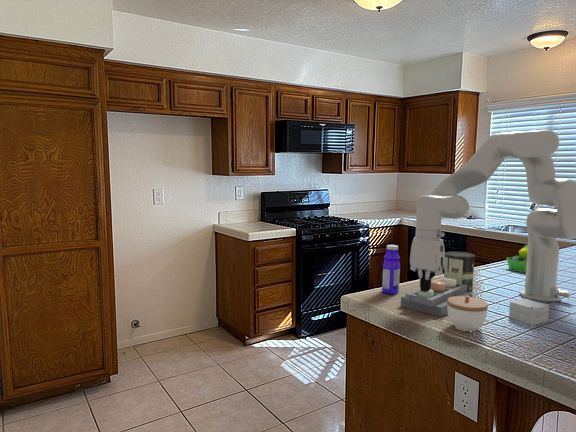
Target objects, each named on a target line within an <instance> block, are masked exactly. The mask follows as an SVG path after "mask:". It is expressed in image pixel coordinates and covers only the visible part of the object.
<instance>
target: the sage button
mask: <svg viewBox="0 0 576 432" xmlns="http://www.w3.org/2000/svg"><path fill="white" fill-rule="evenodd" d="M417 289H418V290H417ZM417 289H416V290H417V295H420V296H424V297H429V298H431V297H433V296H434V291H433V290H431V289H430V290H429V291H427V292H424V291H420V288H417Z"/></svg>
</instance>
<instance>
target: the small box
mask: <svg viewBox="0 0 576 432" xmlns="http://www.w3.org/2000/svg"><path fill="white" fill-rule="evenodd" d="M549 310H550V305H549V304H546V303H545V302H544V303H543V302H541V301H537V300H532V299H528V298H525V297H523V298H521V299H516V300H514V301H510V302H509V311H508V317H509V318H510V319H513V320H516V321H519V322H522V323H526V324H529V325H531V326H535V325H538V324H542V323H546V322H548V321H549Z"/></svg>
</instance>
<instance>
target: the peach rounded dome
mask: <svg viewBox="0 0 576 432" xmlns="http://www.w3.org/2000/svg"><path fill="white" fill-rule="evenodd" d="M440 281H441V280H438V281H437V280H431V288H430V289H431V290H433V291H434V292H439V293H443V292H445V287H446V283H444V282H440Z"/></svg>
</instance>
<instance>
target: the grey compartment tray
mask: <svg viewBox="0 0 576 432" xmlns="http://www.w3.org/2000/svg"><path fill="white" fill-rule="evenodd" d="M439 281H440V282H441V280H439ZM418 289H419V288H417V289H415V290H412V291H410V292H407V293H405V295H404V296H403V295H402V296H401V297H400V307H403V308H406V309H410V310H413V311H418V312H421V313H424V312H425V314H429V315H431V314H433V316H435V315H436V316H435V317H439V316H440V317H439V318H442V317H443V316H446V315H448V313H447V299H448V298H450V297H454V296H469V297H473V293H468V292H465V291H467V285H463V284H458V283H456V287H455V288H448V287H445V292H443V293H439V292H434V296H433V297H431V298H429V297H424V296H420V295H417V290H418ZM441 316H442V317H441Z"/></svg>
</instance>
